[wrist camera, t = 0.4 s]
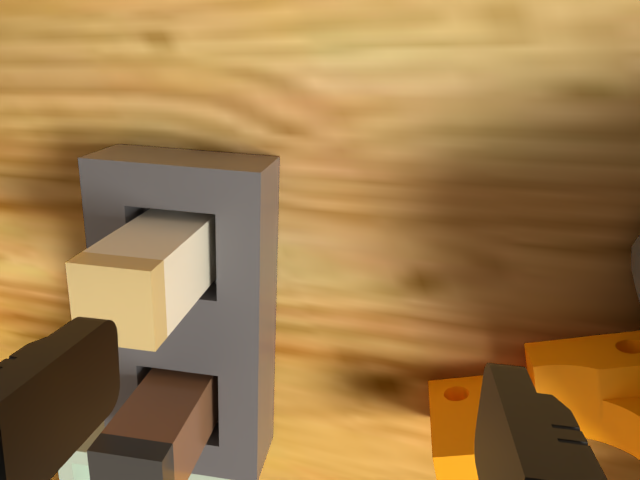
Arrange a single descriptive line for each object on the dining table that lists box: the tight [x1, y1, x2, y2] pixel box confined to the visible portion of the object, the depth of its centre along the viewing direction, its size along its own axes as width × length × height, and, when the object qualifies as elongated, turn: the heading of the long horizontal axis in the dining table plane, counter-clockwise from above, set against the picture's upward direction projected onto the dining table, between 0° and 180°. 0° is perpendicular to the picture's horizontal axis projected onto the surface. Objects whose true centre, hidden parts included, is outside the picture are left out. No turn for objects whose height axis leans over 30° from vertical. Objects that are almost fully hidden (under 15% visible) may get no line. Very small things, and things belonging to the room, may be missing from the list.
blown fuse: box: [87, 368, 219, 480], centre depth 29 cm, size 4×4×8 cm
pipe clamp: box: [428, 331, 640, 480], centre depth 28 cm, size 12×4×6 cm, turn 102°
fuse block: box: [78, 144, 280, 480], centre depth 31 cm, size 18×9×4 cm, turn 177°
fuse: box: [65, 208, 216, 352], centre depth 26 cm, size 4×4×8 cm
